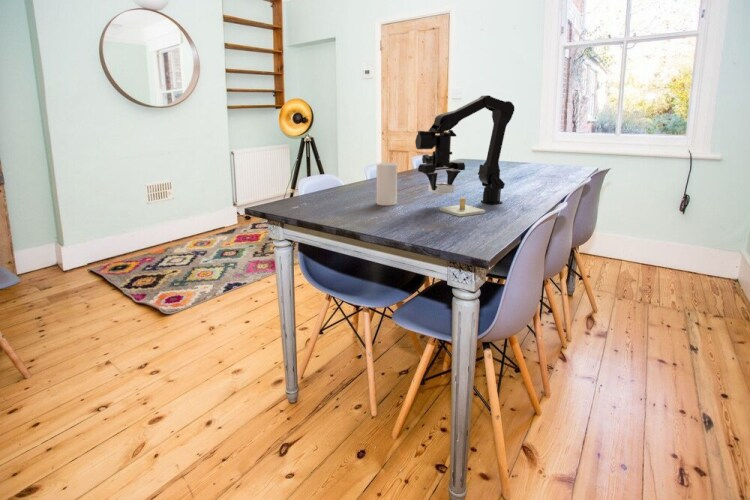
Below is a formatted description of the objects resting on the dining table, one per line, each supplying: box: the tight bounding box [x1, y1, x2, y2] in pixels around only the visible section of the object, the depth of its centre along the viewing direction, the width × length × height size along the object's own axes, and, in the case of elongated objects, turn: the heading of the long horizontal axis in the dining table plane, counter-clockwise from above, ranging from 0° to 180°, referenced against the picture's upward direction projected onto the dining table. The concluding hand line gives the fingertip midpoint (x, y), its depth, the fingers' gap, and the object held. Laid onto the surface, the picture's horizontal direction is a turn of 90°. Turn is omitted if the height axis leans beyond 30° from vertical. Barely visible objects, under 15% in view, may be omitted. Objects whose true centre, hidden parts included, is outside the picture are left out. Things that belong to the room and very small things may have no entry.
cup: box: [376, 162, 398, 206], centre depth 184 cm, size 8×8×16 cm
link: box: [428, 182, 455, 195], centre depth 179 cm, size 7×7×3 cm
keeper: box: [439, 197, 486, 218], centre depth 171 cm, size 12×12×5 cm
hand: (441, 189), depth 179 cm, fingers closed on link, 7 cm apart
